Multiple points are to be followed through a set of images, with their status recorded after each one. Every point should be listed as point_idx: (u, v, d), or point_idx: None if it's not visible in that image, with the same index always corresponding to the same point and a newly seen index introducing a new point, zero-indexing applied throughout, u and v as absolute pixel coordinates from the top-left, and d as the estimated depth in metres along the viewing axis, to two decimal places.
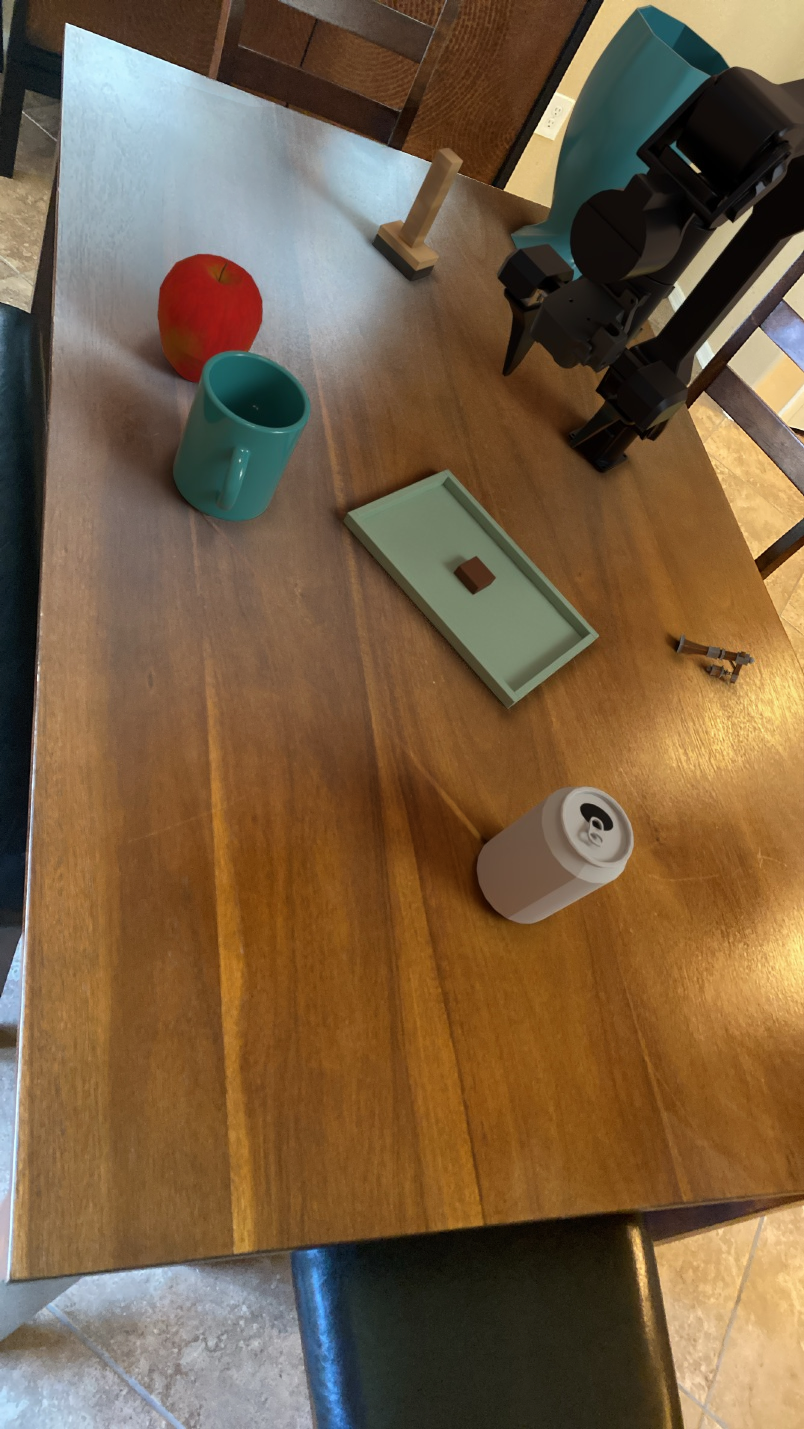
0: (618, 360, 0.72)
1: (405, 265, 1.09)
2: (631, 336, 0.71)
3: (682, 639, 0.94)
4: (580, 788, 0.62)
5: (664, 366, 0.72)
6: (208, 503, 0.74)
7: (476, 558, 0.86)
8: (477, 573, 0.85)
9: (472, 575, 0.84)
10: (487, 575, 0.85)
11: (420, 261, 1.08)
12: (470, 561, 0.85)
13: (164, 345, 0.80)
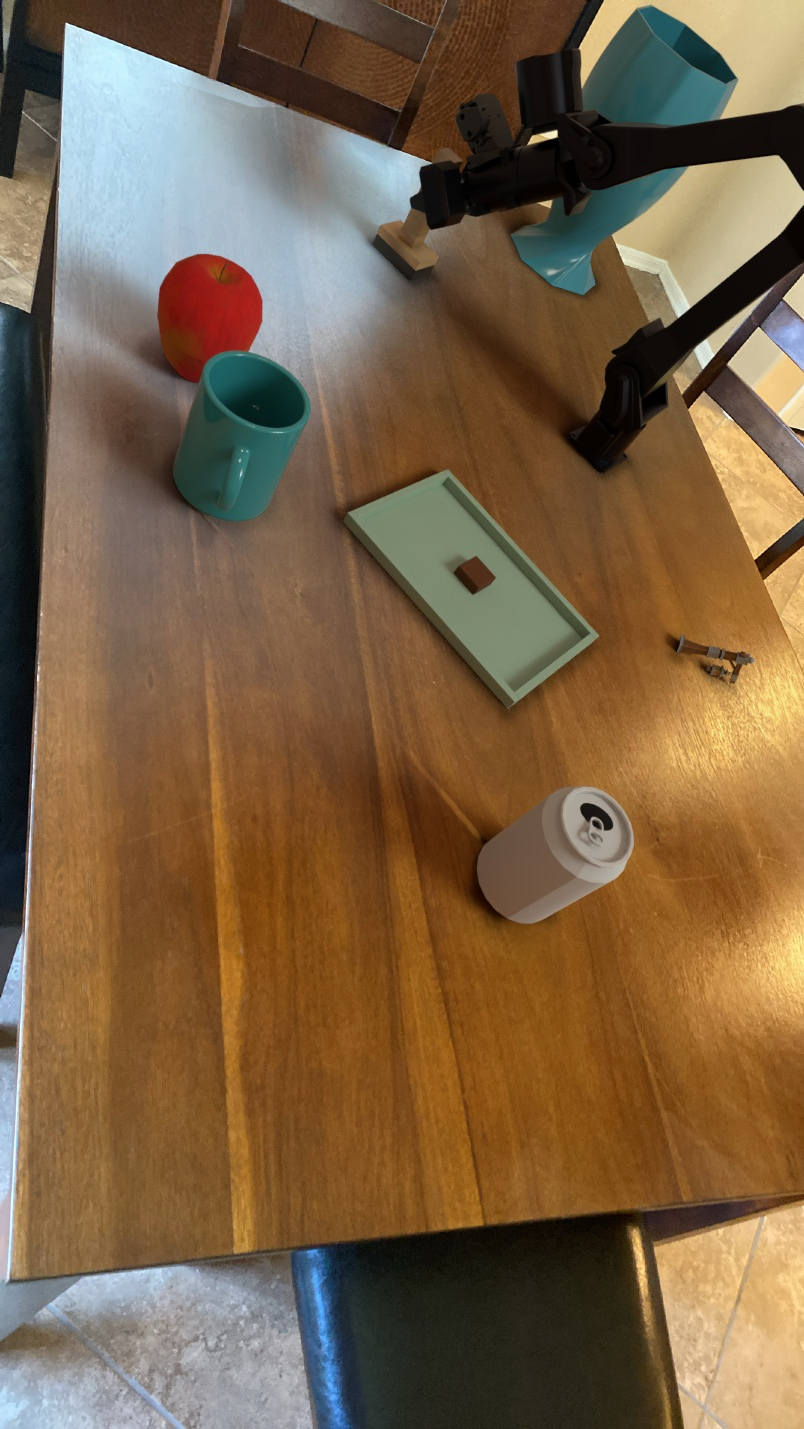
0: None
1: (405, 265, 1.09)
2: (479, 184, 0.98)
3: (682, 639, 0.94)
4: (580, 788, 0.62)
5: (461, 209, 0.97)
6: (208, 503, 0.74)
7: (476, 558, 0.86)
8: (477, 573, 0.85)
9: (472, 575, 0.84)
10: (487, 575, 0.85)
11: (420, 261, 1.08)
12: (470, 561, 0.85)
13: (164, 345, 0.80)
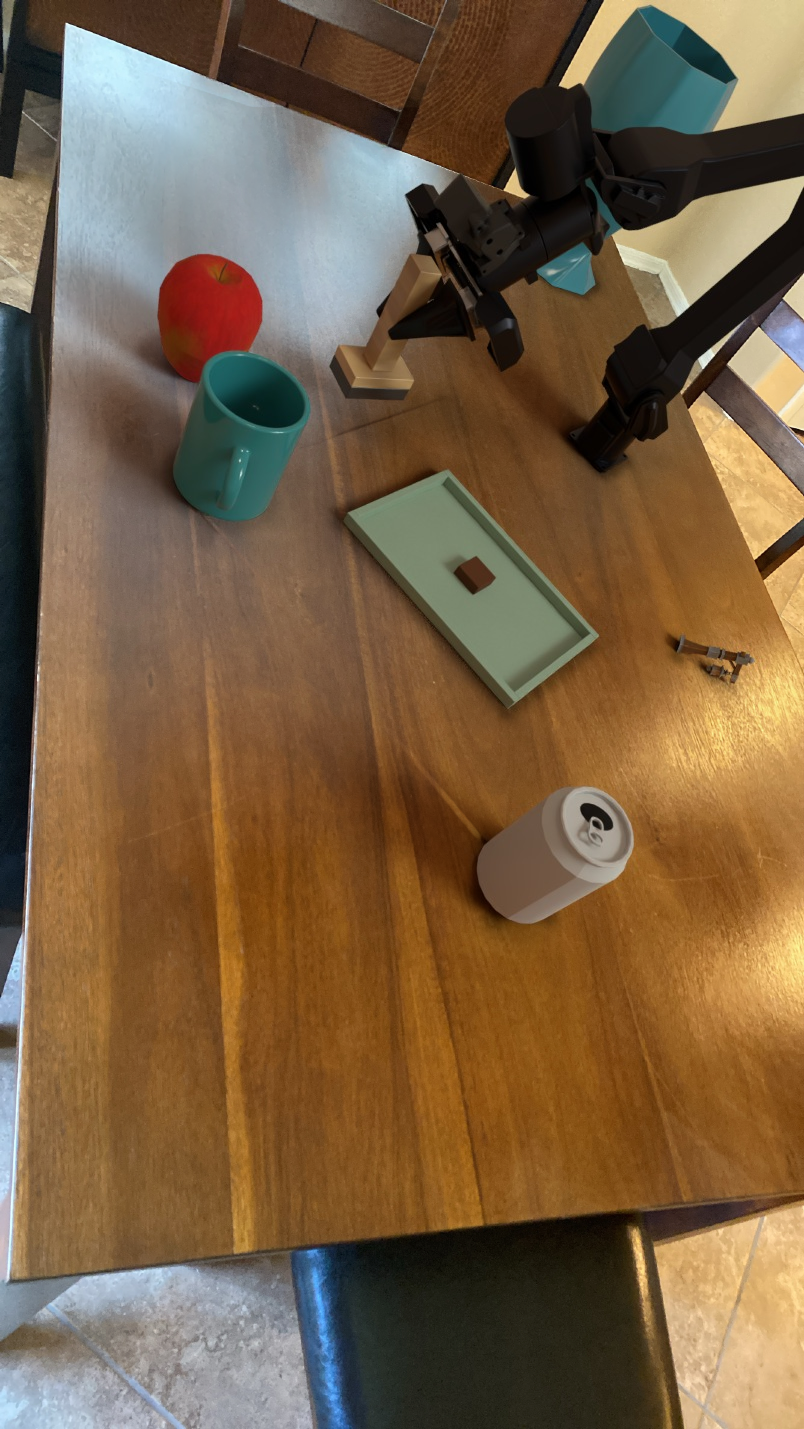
0: None
1: (395, 392, 0.87)
2: (497, 282, 0.79)
3: (682, 639, 0.94)
4: (580, 788, 0.62)
5: None
6: (208, 503, 0.74)
7: (476, 558, 0.86)
8: (477, 573, 0.85)
9: (472, 575, 0.84)
10: (487, 575, 0.85)
11: (413, 378, 0.87)
12: (470, 561, 0.85)
13: (164, 345, 0.80)
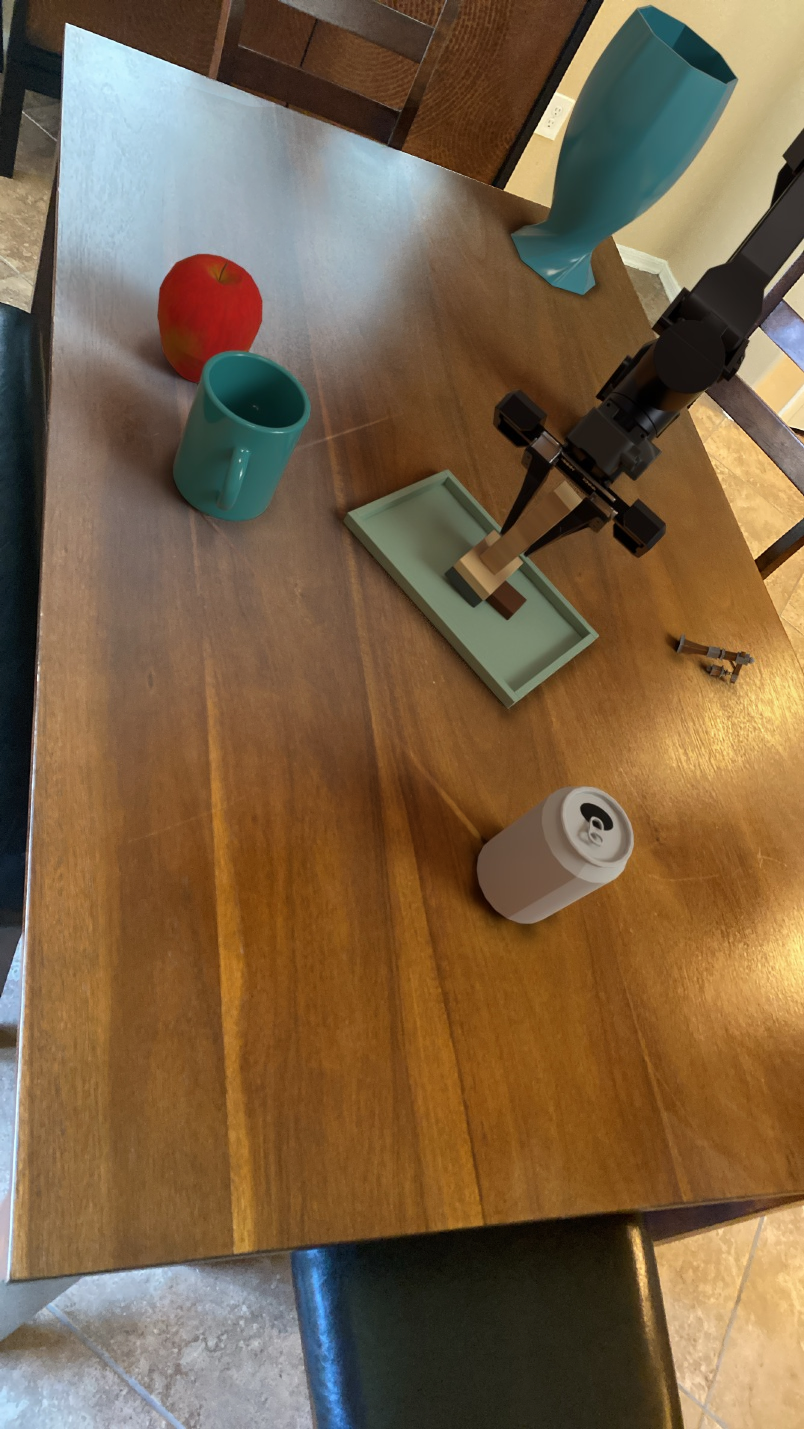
0: None
1: None
2: None
3: (682, 639, 0.94)
4: (580, 788, 0.62)
5: None
6: (208, 503, 0.74)
7: (505, 582, 0.86)
8: (509, 598, 0.85)
9: (505, 601, 0.84)
10: (519, 599, 0.85)
11: (521, 561, 0.86)
12: (500, 587, 0.85)
13: (164, 345, 0.80)
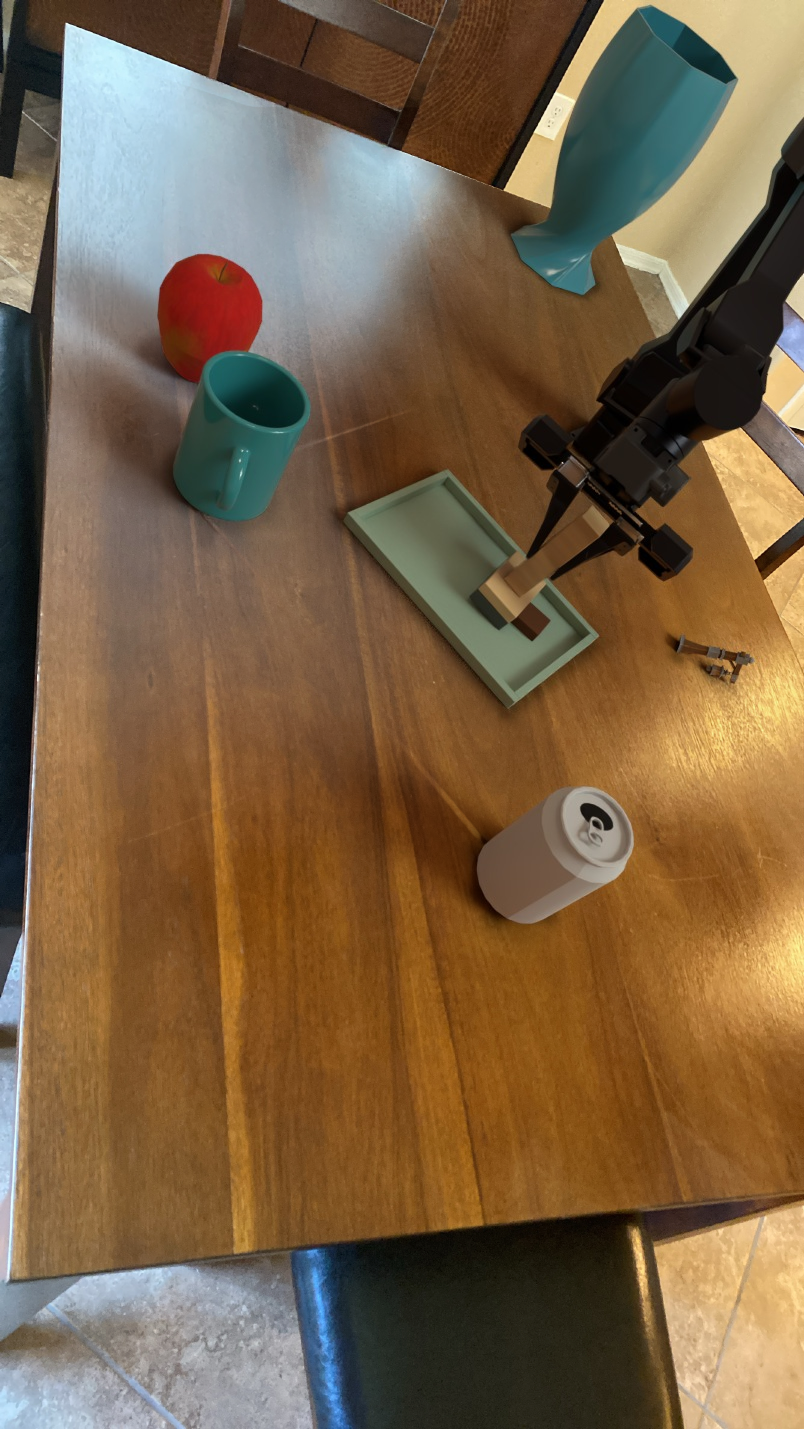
0: None
1: None
2: None
3: (682, 639, 0.94)
4: (580, 788, 0.62)
5: None
6: (208, 503, 0.74)
7: (529, 603, 0.86)
8: (533, 619, 0.85)
9: (530, 623, 0.84)
10: (543, 619, 0.85)
11: (545, 582, 0.86)
12: (524, 608, 0.85)
13: (164, 345, 0.80)
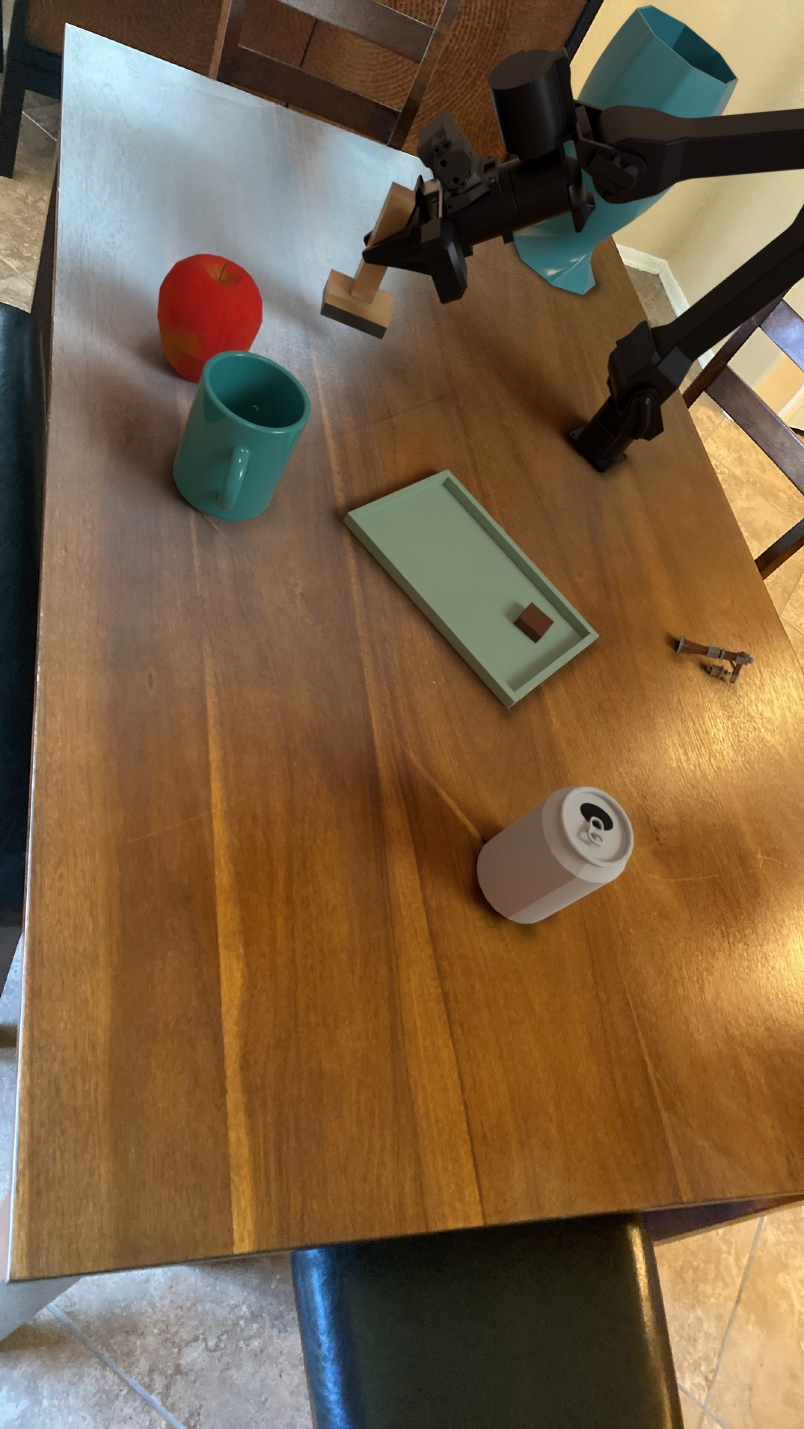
0: None
1: (372, 326, 0.91)
2: (466, 226, 0.82)
3: (682, 639, 0.94)
4: (580, 788, 0.62)
5: (466, 267, 0.82)
6: (208, 503, 0.74)
7: (532, 605, 0.86)
8: (537, 621, 0.85)
9: (533, 624, 0.84)
10: (546, 621, 0.86)
11: (390, 317, 0.91)
12: (528, 609, 0.85)
13: (164, 345, 0.80)
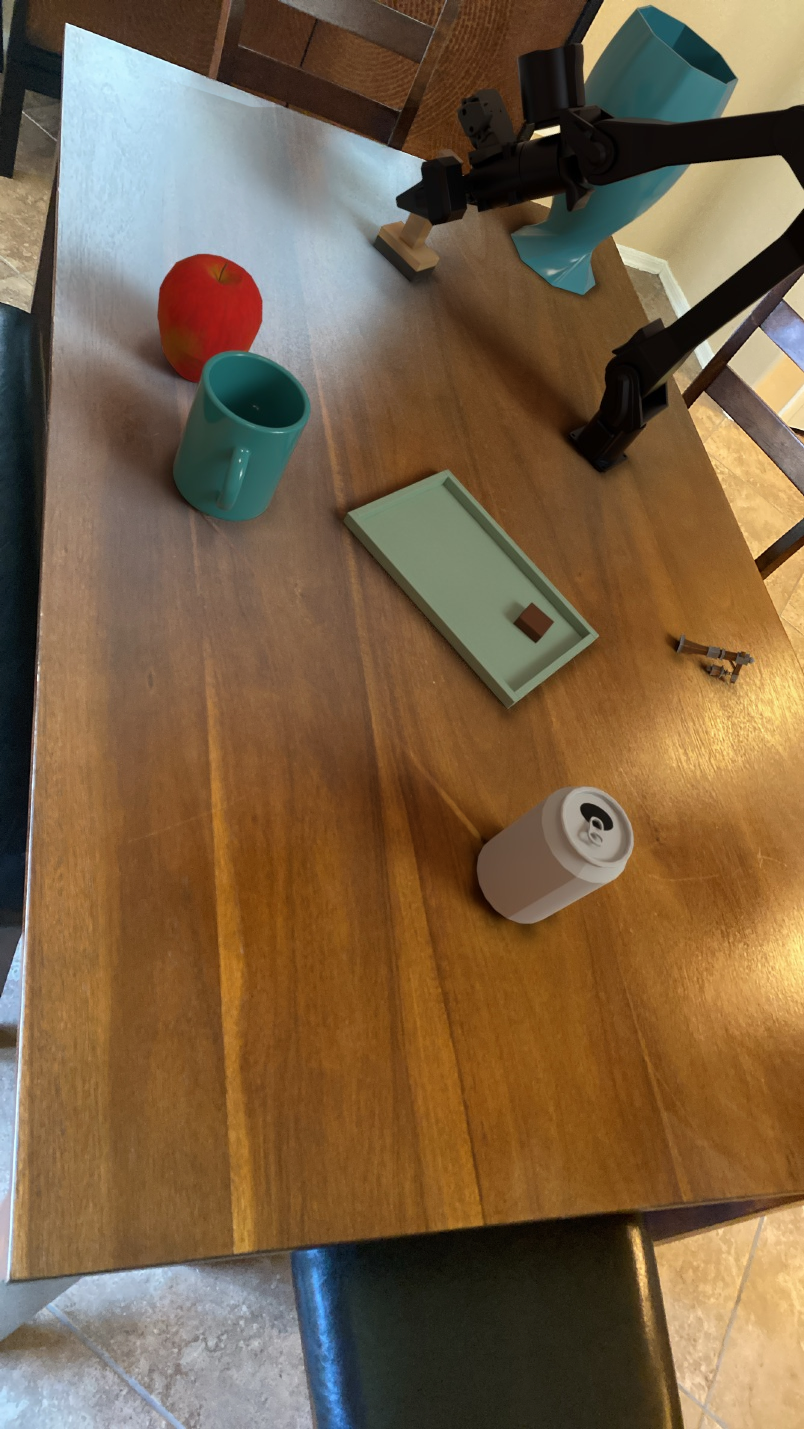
0: None
1: (406, 266, 1.09)
2: (481, 179, 0.97)
3: (682, 639, 0.94)
4: (580, 788, 0.62)
5: (463, 205, 0.97)
6: (208, 503, 0.74)
7: (532, 605, 0.86)
8: (537, 621, 0.85)
9: (533, 624, 0.84)
10: (546, 621, 0.86)
11: (421, 262, 1.08)
12: (528, 609, 0.85)
13: (164, 345, 0.80)
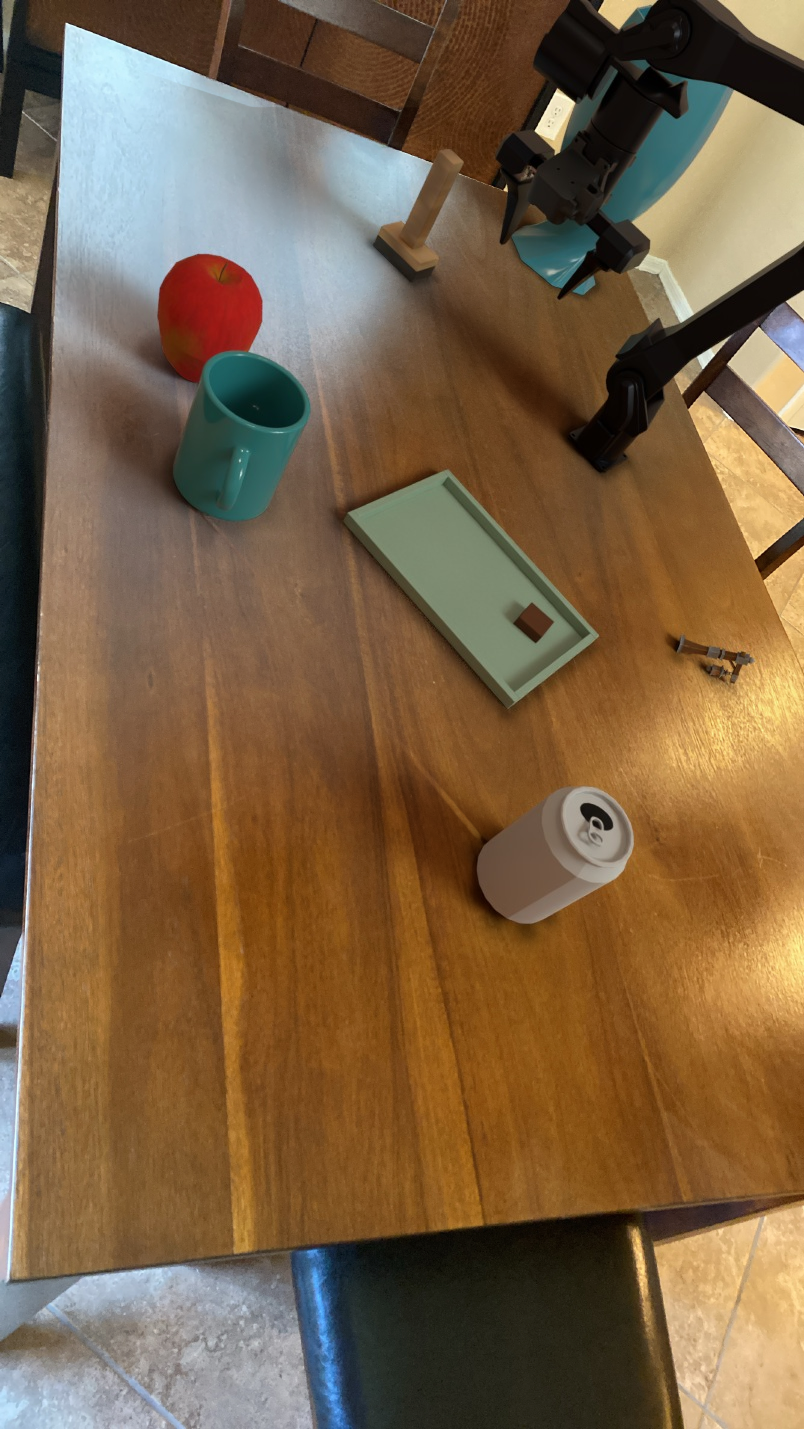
0: (595, 220, 0.92)
1: (406, 266, 1.09)
2: (604, 199, 0.90)
3: (682, 639, 0.94)
4: (580, 788, 0.62)
5: (631, 223, 0.92)
6: (208, 503, 0.74)
7: (532, 605, 0.86)
8: (537, 621, 0.85)
9: (533, 624, 0.84)
10: (546, 621, 0.86)
11: (421, 262, 1.08)
12: (528, 609, 0.85)
13: (164, 345, 0.80)
